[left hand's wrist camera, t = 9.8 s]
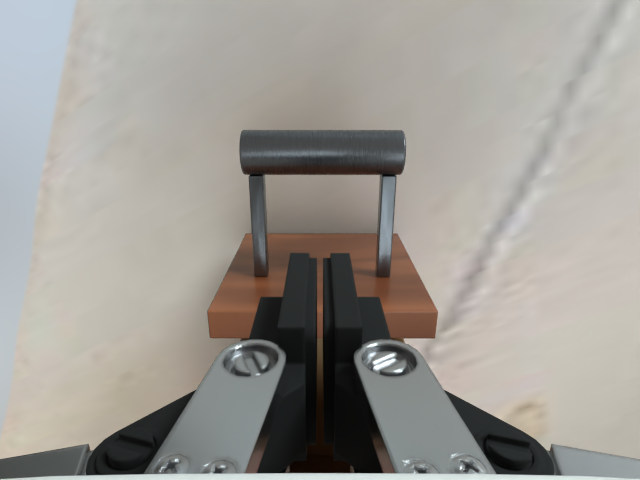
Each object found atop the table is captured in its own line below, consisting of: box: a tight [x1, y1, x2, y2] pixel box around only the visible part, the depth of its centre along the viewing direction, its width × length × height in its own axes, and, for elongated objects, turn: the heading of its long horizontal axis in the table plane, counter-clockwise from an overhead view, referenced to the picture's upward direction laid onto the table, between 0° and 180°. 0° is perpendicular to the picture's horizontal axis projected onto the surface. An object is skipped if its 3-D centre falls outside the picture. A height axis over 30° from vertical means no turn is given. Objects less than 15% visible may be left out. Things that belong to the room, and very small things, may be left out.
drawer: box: [207, 130, 438, 473], centre depth 22 cm, size 22×9×9 cm, turn 0°
